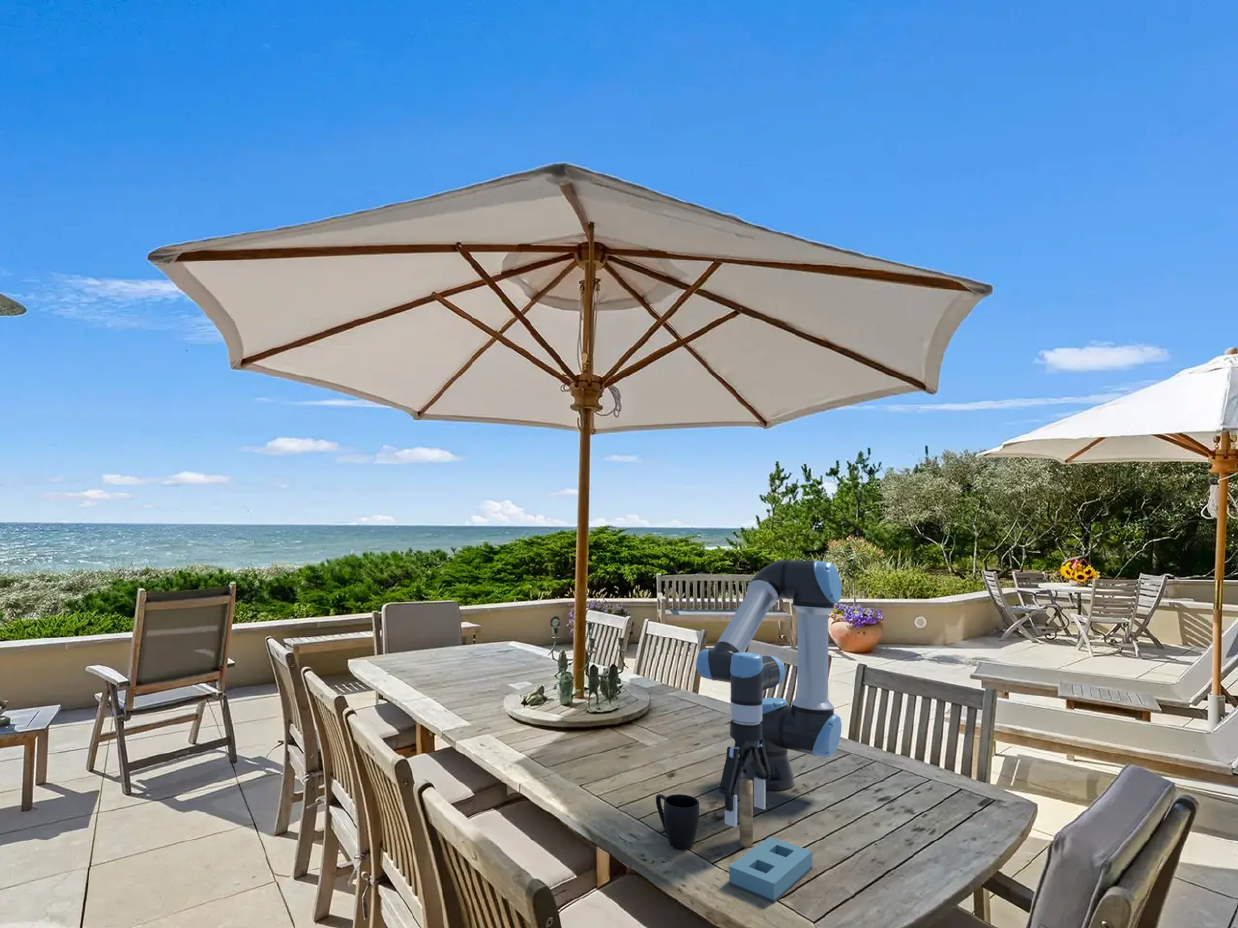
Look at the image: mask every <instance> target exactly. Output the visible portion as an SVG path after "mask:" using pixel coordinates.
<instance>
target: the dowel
mask: <svg viewBox="0 0 1238 928" xmlns="http://www.w3.org/2000/svg"><path fill="white" fill-rule="evenodd" d="M753 808H754V787H753V781H752V780H750V779H741V778H740V781H739V845H740V846H741V847H743V848H746V849H747V848H752V847H753V846H754V844H753V843H754V837H753V836H754V833H753V832H754V828H753V827H754V826H753V825H754V824H753V823H754V811H753Z"/></svg>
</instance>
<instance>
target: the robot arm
mask: <svg viewBox="0 0 1238 928" xmlns="http://www.w3.org/2000/svg"><path fill="white" fill-rule="evenodd" d="M746 588H747V589H746V593H747V594H746V595H744V599H743V600H742V601H741V603H740V605H739V606H738V608H737V610H736V611H735V613H734V615H733V616H732V618H731V619H730V621H729V623H728V624H727V625H726V627H725V629H723V630H724V631H723V632H722V634H721V635H720V637H719V639H718V640H717V642H716V643H715V645H714V646H713V648H712V649H711V648H704V649H702V650H700V651H699V652H698V654H697V657H696V663H695V667H696V671H697V673H698V675H699V676H700V677H701V678H704V679H707V680H711V681H717V682H724V683H730V699H729V700H730V704H729V707H730V716H729V717H730V719H731V720H730V721H729V736H730V737H731V739H733V740H734V746H733V747H731V746H727V748H726V755H725V756H726V758H725V761H724V767H723V770H722V775H721V779H720V784H719V788H718V793H719V794H721V795H724V825H728V826H730V827H734V828H736V827H738V795H737V794H736V792H737V790H738V786H739V785H740V779H750V780H752V781H753V808H754V807H755V808H758V809H761V810H766V791H784V790H789V789H791V788H792V787H794V784H795V774H794V772H793V768H792V765H791V763H790V759H789V755H788V750H789V751H794V752H799V753H804V754H807V755H811V756H813V757H822V758H829V757H831V756H833V755H834V754H835V753H836V751H837V749H838V747H839V744H840V740H841V735H842V727H843V726H842V719H841V717H840V716H839V715H838V714H836V713H834V711H835V706H834V705H833V704H832V703H831V702H830V700H829V614H830V613H831V612H832V611H834V609H835V604H838V603H839V602H840V600H841V598H842V581H841V577H840V575H839V572H838V569H837V568H836V566H835V565H834V564H833V563H831V562H828V561H822V560H821V561H820V560H794V559H792V560H791V559H782V560H777V561H774V562H771V563H770V564H768V565H767V566H764V567H763V568H762V569H760V570H759V571H758V572H757V573H756V574H755V575H754V577H752V578H751V580H750V582H749V583H748V585H747V587H746ZM782 599H785V600H792V607H793V609H795V610H796V612H797V658H796V659H797V668H796V670H797V671H796V672H797V673H796V675H797V676H796V677H797V678H796V685H797V686H796V687H797V689H796V697H795V698H794V699H793V700H792V701H791V706H788V705H789V702H788V701H787V699H786V698H782V697H781V698H780V697H763V691H765V690H768V689H773V688H775V687H777V686H778V685H780V684H782V682H783V680H784V679H785V676H786V668H785V665H784V663H783V662H782V661H781V660H780V659H779V658H778V657H776V656H773V655H763V656H762V655H760V654H759V653H755V652H747V651H746V650H747V648H748V647H749V645H750V643H751V641H752V640H753V638H754V636H755V635H756V633H757V632H758V629H759V627H760V626H761V624H762V622H763V621H764V618H765V617H766V615H767V613H768V612H769V610H770V609H771V608H772V607H774V606H776V604H777V603H778V601H779V600H782Z"/></svg>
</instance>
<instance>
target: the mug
mask: <svg viewBox="0 0 1238 928" xmlns="http://www.w3.org/2000/svg"><path fill="white" fill-rule="evenodd" d="M662 800H663V806H662ZM655 804H656V808H657V811H658V816H659V818H660V822H661V824H662V827H663V831H664V832H665V834H666V836H667V840H668V845H669V847H671V848H672V849H673V850H678V851H679V850H680V851H688V850H690V849H692V848H693V847H694V844H695V843H694V842H695V839H696V838H697V837H696V836H697V833H698V828H699V821H700V800H699V799H697V798H696V797H694V796H692V795H689V794H680V793H679V794H678V793H677V794H670V795H668V796H666V795H664V794H661V793H660V794H657V795H656V796H655Z"/></svg>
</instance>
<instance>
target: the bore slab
mask: <svg viewBox="0 0 1238 928" xmlns="http://www.w3.org/2000/svg"><path fill="white" fill-rule="evenodd" d="M812 869H813V851H812V850H810V849H807V848H804V847H801V846H798V845H795V844H792V843H790V842H787V841H784V840H781V839H778V838H775V837H772V836H769V837H767V838H765V840H763V841H761V842H760V843H759V844H758V845H757V846H755V847H753V848H752V849H751V850H749V851H748V852H747V853H745V854H743V856H741V857H739V858H738V859H737V860H735V861H734V862H732V863H731V864H729V867H728V871H729V872H728V876H729V878H728V884H729V886H732V887H735V888H737V889H739V890H742V891H743V892H747V893H749V894H752V895H754V896H756V897H759V898H761V899H763V900H766V901H768V902H771V903H773V904H775V903H776V902H777V901H778V900H779V899H780V898H782V896H784V895H785V894H786V893H788V891H789V890H790V889H791V888H793V886H795V885H796V884H797V883H798V882H799V881H801V879H802V878H803V877H805V876H806V875H807V874H808V873H809V872H810V871H811V870H812Z"/></svg>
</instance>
